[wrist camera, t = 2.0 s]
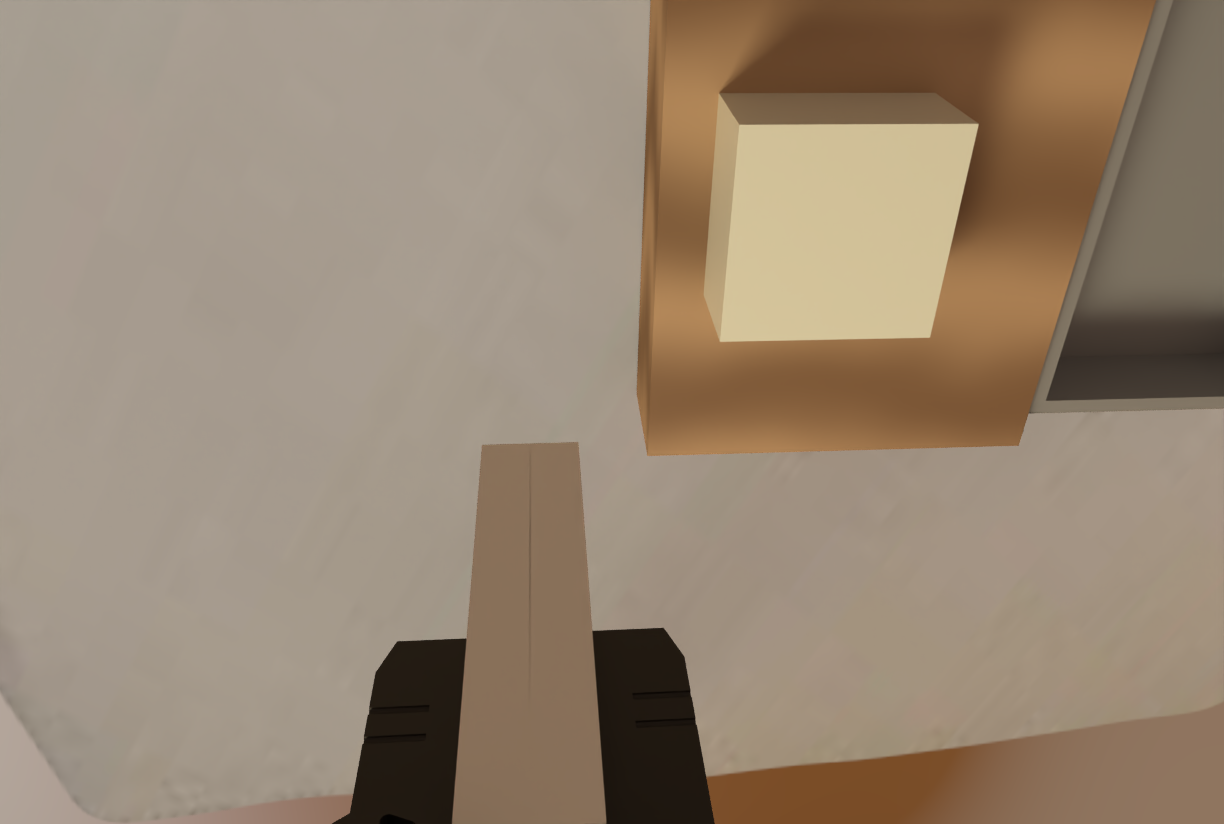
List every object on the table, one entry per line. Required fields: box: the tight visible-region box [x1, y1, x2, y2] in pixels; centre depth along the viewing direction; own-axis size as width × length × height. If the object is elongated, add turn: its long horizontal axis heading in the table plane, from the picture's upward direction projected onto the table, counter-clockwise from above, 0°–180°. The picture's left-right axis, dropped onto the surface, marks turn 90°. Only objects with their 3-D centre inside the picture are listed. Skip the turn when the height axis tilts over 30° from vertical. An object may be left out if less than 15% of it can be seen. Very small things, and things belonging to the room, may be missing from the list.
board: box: [637, 0, 1156, 456], centre depth 29 cm, size 18×13×4 cm
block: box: [704, 93, 979, 342], centre depth 26 cm, size 6×6×3 cm
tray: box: [1029, 0, 1224, 413], centre depth 30 cm, size 16×10×4 cm, turn 179°
